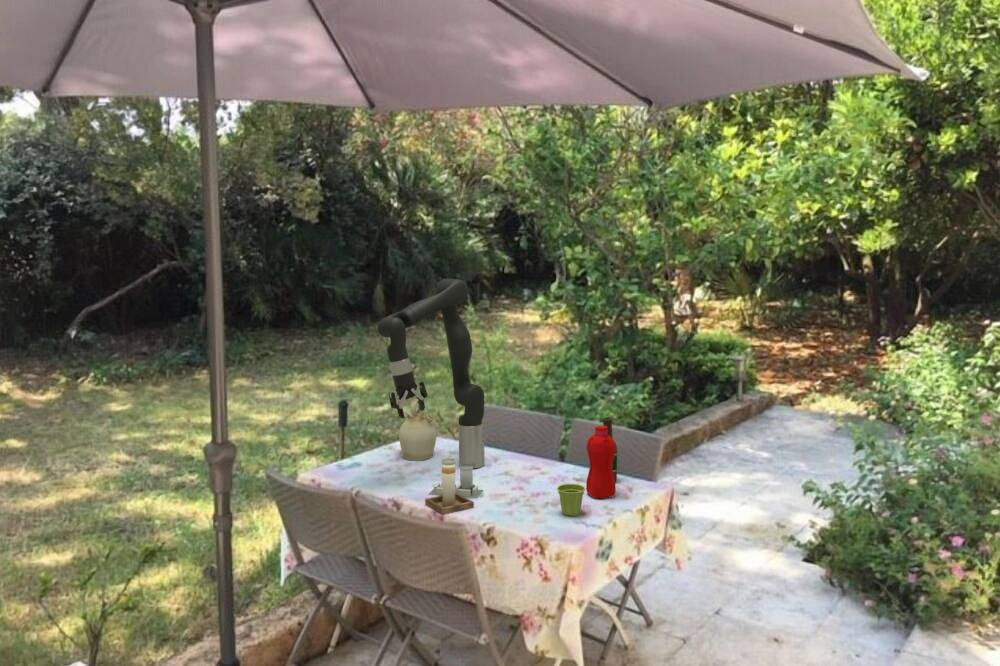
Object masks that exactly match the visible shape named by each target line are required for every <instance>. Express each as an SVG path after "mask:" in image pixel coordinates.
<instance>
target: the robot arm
mask: <svg viewBox="0 0 1000 666" xmlns="http://www.w3.org/2000/svg"><path fill="white" fill-rule="evenodd" d="M468 294H469V288H468V285H467V283H466V282H465V281H463V280H462V279H457V278H456V279H455V278H442V279H440V280H439V281H438V282H437V286H436V294H434V295H433V296H430V297H427V298H424V299H423V298H422V299H420V300H418V301H416V302H413V303H411V304H410V305H408V306H407V307H405V308H403V309H402V310H400V311H398V312H395V313H391V314H390V315H387V316H385V317H384V318H382V319H381V320H380V321H379V322H378V324H377V333H378V334H379V335H380V336H381V337H384V338H389V339H390V340H389V342H390V344H389V345H388V346H387V347H386V353H387V357H388V361H389V368H390V374H391V375H392V380H393V384H394V387H395V391H389V392H388V398H389V404H390V408H391V409H396V411H397V416H398V417H399V418H401V419H403V418H405V416H404V409H403V405H404V403H405V401H406V400H409V399H412V398H417V399H418V400H419V401H418V403H417V405H418V407H419V408H420V410H421V411H423V412H424V411H425V409H426V406H425V405H426V404H425V401H424V399H425V398H428V392H427V390H426V389H427V388H426V386H425V383H424V381H421V380H420V381H419V380H418V381H417V382H416V379H415V378H416V377H415V374H414V371H413V367H412V364H411V360H410V358H409V353H408V349H407V330H406V329H408V328H411V327H413V326H416V325H417V324H419V323H420V322H422V321H423V320H425V319H427V318H429V317H430V316H433V315H434V314H437V313H438V312H440V311H441V315H442V321H443V325H444V331H445V336H446V342H447V348H448V353H449V359H450V365H451V371H452V382H453V383H452V386H453V394H454V395H453V396H454V399H455V401H456V402H457V404H458V405H461V406H463V407H464V414H462V415H460V416H459V417H458V456H459V457H458V459H459V461H458V462H459V466H458V467H460V465H462V464H471V465H473V468H477V469H480V468H482V467H483V465H485V463H486V462H485V460H486V459H485V441H483V418H484V416H485V391H484V389H483V387H481V386H480V385H478V384H474V383H472V382H471V379H470V373H469V372H470V371H469V368H470V367H469V365H470V362H471V359H472V355H473V343H472V339H471V334H470V331H469V329H468V328H467V326H466V324H465V322H464V321H463V319H462V317H461V316H460V314H459V311H458V307H457V304H460V303H462V302H464V301H465V300H466V298H467V297H468ZM417 388H418V389H419V390H418V391H419V392H418V391H417ZM396 397H397V398H396ZM481 466H482V467H481ZM485 466H486V465H485ZM479 467H480V468H479Z"/></svg>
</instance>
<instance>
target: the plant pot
mask: <svg viewBox="0 0 1000 666" xmlns="http://www.w3.org/2000/svg"><path fill="white" fill-rule="evenodd" d="M556 490H557V492H558V495H559V501H560V508H561V513H562V515H563V516H566V515H567V516H571V517H576V516H579V515H580V514H581V511H582V504H583V496H584V494H585V491H586V487H585V486H584V485H581V484H577V483H564V484H560V485H558V486H557V487H556Z"/></svg>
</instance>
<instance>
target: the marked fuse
mask: <svg viewBox="0 0 1000 666" xmlns="http://www.w3.org/2000/svg"><path fill="white" fill-rule="evenodd" d="M441 483H442V484H441V487H442V502H443V507H448V506H453V505H456V501H455V484H456V459H454V458H452V457H449V458H443V459H442V460H441Z"/></svg>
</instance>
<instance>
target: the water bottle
mask: <svg viewBox="0 0 1000 666" xmlns="http://www.w3.org/2000/svg"><path fill="white" fill-rule="evenodd" d="M607 430H608V427H607V426H603V425H598V426H597V425H596V426H594V434H593V435H590V437H588V439H587V444H586V453H587V455H588V460H589V469H588V474H587V479H586V483H585V484H586V487H585V491H586V493H587V494H588V495H589V496H590V497H592V498H594V499H597V500H602V499H608V497H609V498H612V497H614V496H615V495H616V491H617V489H616V483H615V480H614V475H613V470H612V463H613V459H614V455H615V451H616V446H617V445H616V446H615V443H616V441H615V439H614V438H612V437H610V436H609V435H607ZM601 498H602V499H601Z"/></svg>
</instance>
